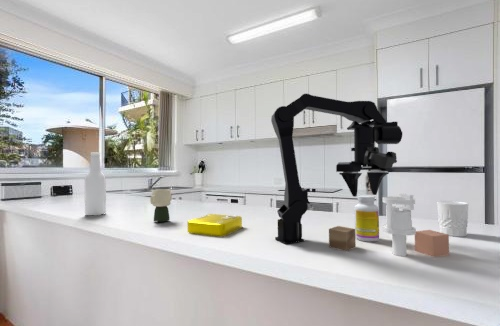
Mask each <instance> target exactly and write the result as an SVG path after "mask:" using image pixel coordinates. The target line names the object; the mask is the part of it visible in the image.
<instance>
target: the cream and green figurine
mask: <svg viewBox="0 0 500 326" xmlns="http://www.w3.org/2000/svg"><path fill="white" fill-rule="evenodd" d="M151 194H152V195H150V197H149V198H150V200H149V201H150V204H151V205H152V206H154V207H155V208H154V215H153V222H158V223H160V222H169V221H170V212H169V208H168V206H170V205H171V201H172V196H173V195H172V193H171V189H165V188H164V189H153V190H152V191H151ZM159 221H160V222H159Z"/></svg>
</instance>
